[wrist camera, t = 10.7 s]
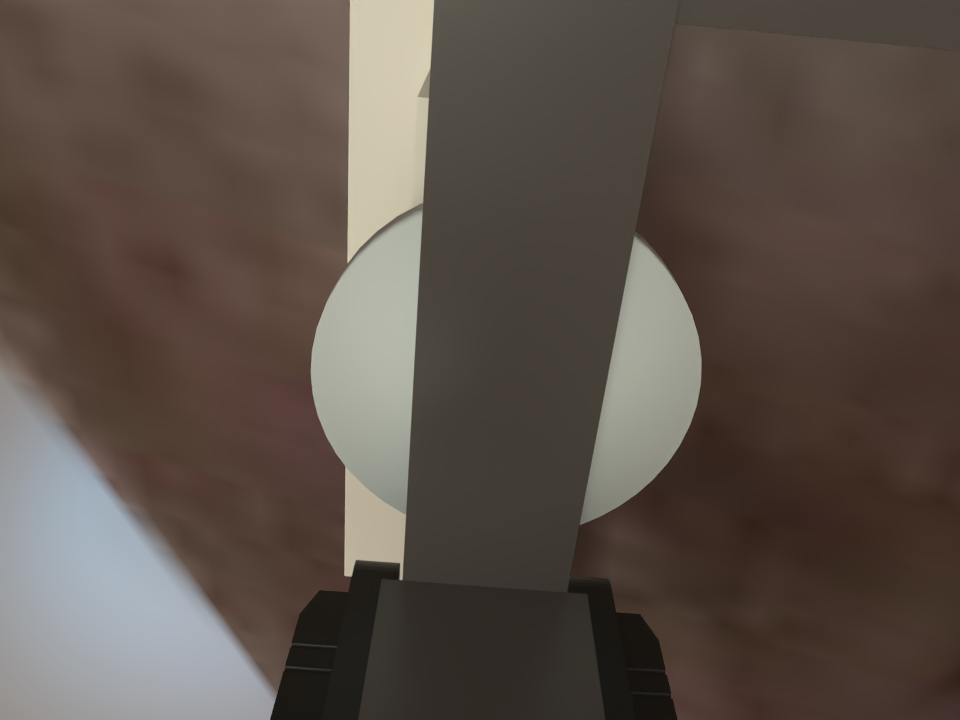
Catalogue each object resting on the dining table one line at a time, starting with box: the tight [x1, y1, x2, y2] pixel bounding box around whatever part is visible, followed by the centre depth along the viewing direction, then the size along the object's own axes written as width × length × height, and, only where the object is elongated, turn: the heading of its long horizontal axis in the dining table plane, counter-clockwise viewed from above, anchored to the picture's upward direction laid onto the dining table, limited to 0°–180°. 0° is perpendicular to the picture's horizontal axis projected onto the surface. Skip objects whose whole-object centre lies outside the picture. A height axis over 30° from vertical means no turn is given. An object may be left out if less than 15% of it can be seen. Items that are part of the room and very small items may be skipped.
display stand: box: [344, 0, 434, 580], centre depth 20 cm, size 22×8×12 cm, turn 175°
